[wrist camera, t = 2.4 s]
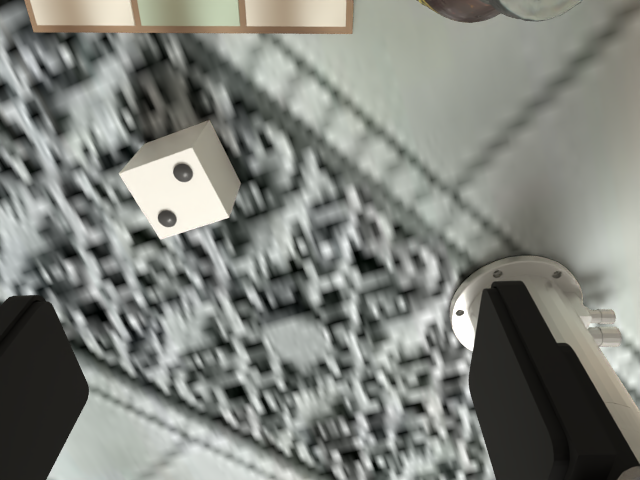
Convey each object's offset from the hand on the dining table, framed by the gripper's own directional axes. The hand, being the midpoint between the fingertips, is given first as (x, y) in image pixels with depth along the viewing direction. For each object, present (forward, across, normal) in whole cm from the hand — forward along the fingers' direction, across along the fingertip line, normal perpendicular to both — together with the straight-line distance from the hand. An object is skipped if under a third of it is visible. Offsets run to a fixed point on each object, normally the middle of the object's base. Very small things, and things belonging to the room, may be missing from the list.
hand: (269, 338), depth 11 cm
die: (+30, +11, +9) cm, 33 cm away
